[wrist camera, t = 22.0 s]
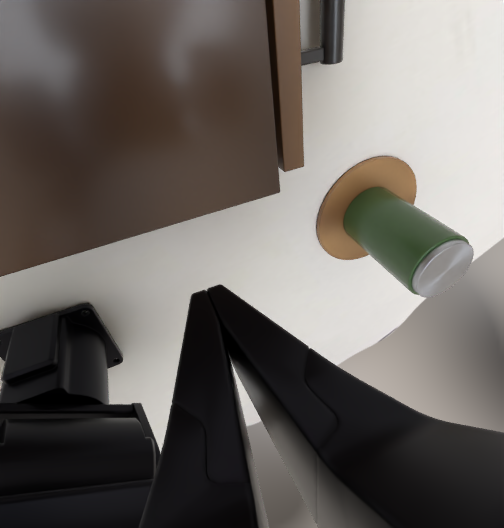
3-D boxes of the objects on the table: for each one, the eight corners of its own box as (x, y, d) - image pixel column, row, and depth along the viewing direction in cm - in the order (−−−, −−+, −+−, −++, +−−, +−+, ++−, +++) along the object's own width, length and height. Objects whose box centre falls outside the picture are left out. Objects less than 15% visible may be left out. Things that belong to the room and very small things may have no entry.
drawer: (342, -208, 13) (401, -258, 11) (332, 132, 22) (365, 149, 19) (-217, -182, 10) (-326, -247, 7) (30, 214, 18) (21, 249, 16)
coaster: (403, 239, 31) (406, 241, 31) (316, 270, 30) (318, 273, 29) (422, 142, 26) (426, 144, 25) (316, 174, 24) (319, 176, 24)
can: (396, 179, 26) (486, 230, 20) (388, 228, 29) (464, 286, 23) (344, 195, 25) (422, 254, 19) (341, 245, 28) (408, 309, 22)
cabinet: (196, -221, 12) (241, -315, 9) (248, 160, 22) (280, 192, 18) (-351, -202, 9) (-636, -335, 6) (-18, 233, 18) (-44, 290, 15)
